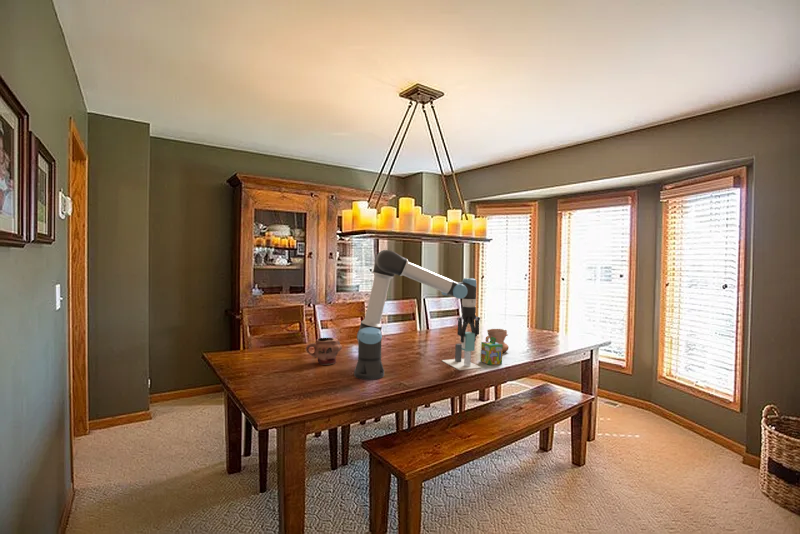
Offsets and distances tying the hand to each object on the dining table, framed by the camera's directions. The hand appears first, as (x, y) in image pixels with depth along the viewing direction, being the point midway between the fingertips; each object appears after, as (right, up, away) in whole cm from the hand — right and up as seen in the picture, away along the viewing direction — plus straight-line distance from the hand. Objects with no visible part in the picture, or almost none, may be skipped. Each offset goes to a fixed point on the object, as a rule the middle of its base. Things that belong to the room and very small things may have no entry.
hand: (468, 347), depth 229 cm
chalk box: (+15, -11, +10) cm, 21 cm away
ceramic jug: (+24, -10, +38) cm, 46 cm away
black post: (-4, -10, +10) cm, 15 cm away
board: (-3, -10, +5) cm, 12 cm away
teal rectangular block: (0, -1, 0) cm, 1 cm away
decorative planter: (-80, -9, 0) cm, 81 cm away
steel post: (0, -11, 0) cm, 11 cm away
